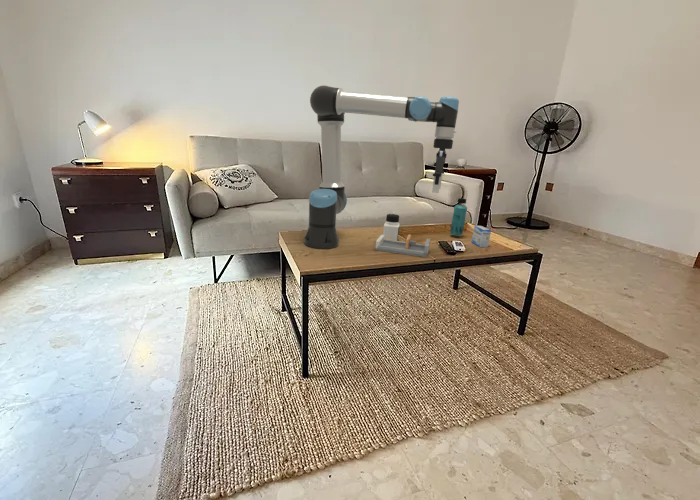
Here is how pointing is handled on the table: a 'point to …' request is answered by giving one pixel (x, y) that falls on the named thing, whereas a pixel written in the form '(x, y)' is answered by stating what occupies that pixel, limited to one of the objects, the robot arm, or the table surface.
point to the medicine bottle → (391, 227)
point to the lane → (402, 247)
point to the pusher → (409, 242)
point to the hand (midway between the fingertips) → (436, 190)
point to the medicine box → (481, 236)
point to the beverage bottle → (458, 218)
